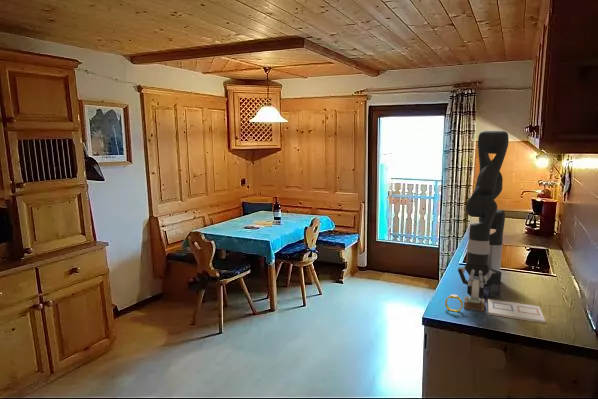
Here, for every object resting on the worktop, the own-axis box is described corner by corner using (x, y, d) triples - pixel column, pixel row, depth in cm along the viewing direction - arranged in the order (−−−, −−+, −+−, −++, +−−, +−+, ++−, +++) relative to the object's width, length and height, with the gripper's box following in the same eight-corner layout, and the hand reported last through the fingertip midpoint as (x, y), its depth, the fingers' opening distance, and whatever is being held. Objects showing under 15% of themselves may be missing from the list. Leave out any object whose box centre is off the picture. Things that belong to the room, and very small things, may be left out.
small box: (469, 290, 181) (471, 266, 180) (481, 288, 183) (482, 265, 182) (488, 298, 171) (490, 273, 170) (500, 296, 173) (502, 271, 172)
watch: (444, 311, 156) (444, 295, 156) (446, 308, 158) (446, 293, 158) (461, 313, 153) (461, 297, 153) (463, 311, 155) (462, 295, 155)
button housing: (464, 302, 165) (464, 296, 165) (483, 305, 162) (484, 299, 162) (463, 308, 159) (464, 301, 158) (484, 311, 156) (484, 304, 156)
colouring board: (487, 300, 168) (487, 298, 168) (539, 308, 161) (539, 306, 161) (488, 314, 153) (488, 312, 153) (545, 323, 146) (545, 320, 146)
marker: (470, 296, 162) (472, 274, 161) (479, 298, 161) (480, 275, 160) (470, 299, 159) (471, 276, 158) (479, 300, 158) (480, 277, 157)
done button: (467, 303, 163) (468, 296, 163) (480, 305, 162) (480, 297, 161) (467, 307, 159) (468, 299, 159) (480, 309, 158) (480, 301, 157)
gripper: (498, 251, 159) (494, 295, 161) (458, 247, 164) (455, 290, 166) (499, 255, 152) (495, 301, 154) (457, 251, 157) (454, 295, 159)
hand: (474, 295), depth 160 cm, fingers closed on marker, 3 cm apart
